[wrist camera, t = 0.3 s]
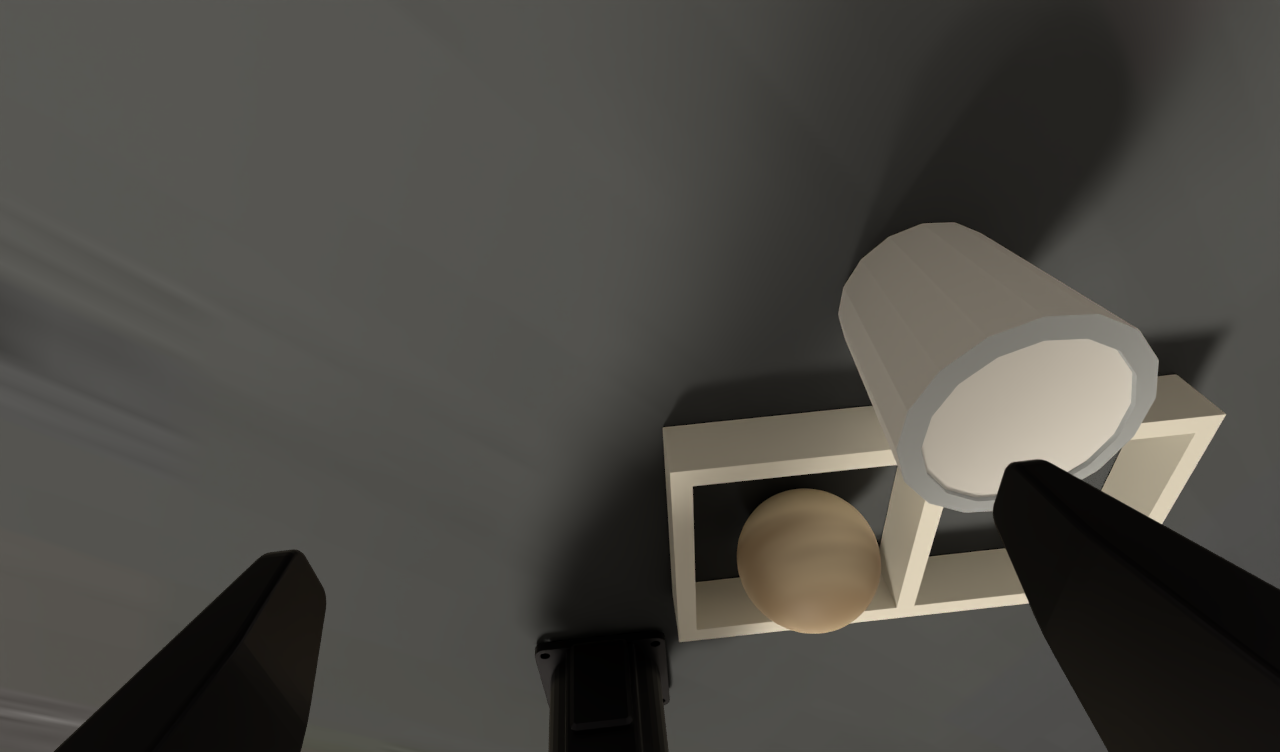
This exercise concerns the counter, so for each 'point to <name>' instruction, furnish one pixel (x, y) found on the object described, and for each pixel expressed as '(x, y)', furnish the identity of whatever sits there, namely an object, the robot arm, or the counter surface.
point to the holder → (894, 505)
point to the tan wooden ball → (808, 560)
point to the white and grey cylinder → (988, 364)
